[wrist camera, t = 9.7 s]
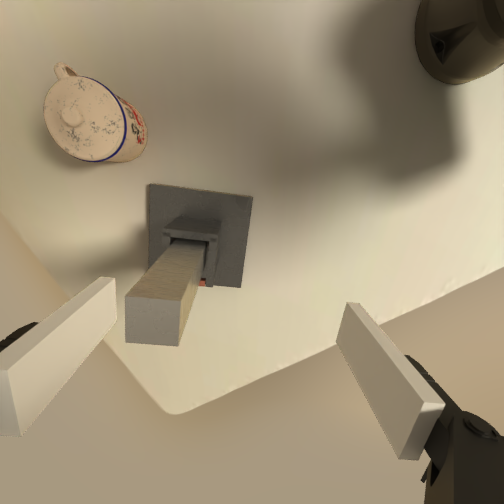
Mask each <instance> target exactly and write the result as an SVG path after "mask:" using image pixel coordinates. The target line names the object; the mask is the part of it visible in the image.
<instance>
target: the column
mask: <svg viewBox="0 0 504 504" xmlns="http://www.w3.org/2000/svg"><path fill="white" fill-rule="evenodd" d="M207 242H208V241H202V240H193V239H185V238H176V240H175V241H174V242H173V243H172V244H171V245H170V246H169V247H168V248H167V250H166V251H165V252H164V253H163V254H162V255H161V256H160V257H159V259H158V260H157V261H156V262H155V263H154V264H153V265H152V266H151V267H150V269H149V270H148V271H147V272H146V273H145V274H144V275H143V276H142V277H141V279H140V280H139V281H138V282H137V283H136V284H135V285H134V286H133V288H132V289H131V290H130V291H129V292H128V293H127V294H126V295H125V340H126V343H139V344H153V345H166V346H179V343H180V340H181V337H182V334H183V331H184V328H185V325H186V322H187V319H188V316H189V313H190V310H191V307H192V304H193V301H194V298H195V295H196V292H197V289H198V286H199V283H200V280H201V277H202V274H203V271H204V268H205V265H206V254H207Z"/></svg>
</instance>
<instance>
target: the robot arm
mask: <svg viewBox="0 0 504 504" xmlns="http://www.w3.org/2000/svg"><path fill="white" fill-rule="evenodd" d="M415 42H416V48H417V52H418V55H419V58H420V60H421V63H422V64H423V66H424V68H425V69H426V70H427V71H428V72H429V74H431V75H432V76H433V77H434V78H436V79H438V80H440V81H442V82H445V83H449V84H461V83H466V82H470V81H472V80H475V79H477V78H480V77H482V76H485V75H487V74H489V73H491V72H493V71H494V70H496V69H497V68H499V67H500V66H502V65H503V64H504V0H422V2H421V4H420V7H419V10H418V14H417V19H416V26H415ZM116 322H117V313H116V288H115V278H111V277H102V276H100V277H99V278H98V279H96V280H95V281H94V282H93V283H91V284H90V285H89V286H87V287H86V288H85V289H83V290H82V291H81V292H79V293H78V294H77V295H75V296H74V297H73V298H71V299H70V300H69V301H68V302H66V303H65V304H63V305H62V306H61V307H60V308H58V309H57V310H56V311H54V312H53V313H52V314H50V315H49V316H48V317H46V318H45V319H44V320H42V321H41V322H40V323H37V322H33V323H30V324H28V325H26V326H24V327H22V328H19V329H17V330H16V331H15V332H13V333H12V334H10V335H9V336H7V337H6V339H5V340H2V341H1V342H0V436H15V437H21V436H22V435H23V434H24V433H25V432H26V430H27V429H28V428H29V427H30V426H31V424H32V423H33V422H34V420H35V419H36V418H37V417H38V416H39V415H40V413H41V412H42V411H43V409H45V407H46V406H47V405H48V404H49V403H50V401H51V400H52V399H53V398H54V397H55V395H56V394H57V393H58V392H59V390H60V389H61V388H62V387H63V386H64V384H65V383H66V382H67V381H68V380H69V378H70V377H71V376H72V375H73V374H74V372H75V371H76V370H77V369H78V367H79V366H80V365H81V364H82V363H83V361H84V360H85V359H86V358H87V356H88V355H89V354H90V353H91V352H92V351H93V349H94V348H95V347H96V346H97V345H98V343H99V342H100V341H101V340H102V339H103V337H104V336H105V335H106V334H107V332H108V331H109V330H110V329H111V328H112V326H113V325H114V324H115V323H116ZM336 343H337V345H338V346H339V348H340V350H341V352H342V354H343V356H344V358H345V359H346V361H347V363H348V365H349V367H350V369H351V371H352V373H353V375H354V376H355V378H356V380H357V382H358V384H359V386H360V387H361V389H362V391H363V393H364V395H365V397H366V399H367V401H368V403H369V405H370V406H371V408H372V410H373V412H374V414H375V416H376V418H377V420H378V422H379V423H380V425H381V427H382V429H383V431H384V433H385V435H386V436H387V438H388V440H389V442H390V444H391V446H392V448H393V449H394V451H395V453H396V455H397V457H398V459H405V460H419V458H420V455H421V454H422V451H423V449H425V450H426V452H427V454H428V455H429V457H430V458H431V461H430V463H429V465H428V467H427V469H426V471H425V473H424V475H423V477H422V479H421V481H422V482H423V483H424V482H425V480H426V479H427V480H426V491H425V500H424V504H504V436H501V435H500V434H499V433H498V432H497V431H496V430H495V428H494V427H492V426H491V425H490V424H489V423H487V422H486V421H485V420H483V419H481V418H480V417H478V416H477V415H474V414H472V413H469V412H467V411H462V410H461V409H460V408H459V407H458V406H457V405H456V403H455V402H454V401H453V400H452V399H451V398H450V397H449V396H448V395H447V394H446V392H445V391H444V390H443V389H442V388H441V387H440V386H439V385H438V384H437V383H435V380H434V379H433V378H432V377H431V376H430V375H428V372H427V371H426V370H425V369H424V368H423V367H422V366H421V365H420V364H419V363H418V362H417V361H415V360H414V359H413V358H411V357H410V356H408V355H403V354H402V352H401V351H400V350H399V349H398V348H397V347H396V345H395V344H394V343H393V342H392V341H391V340H390V338H389V337H388V336H387V335H386V334H385V333H384V331H383V330H382V329H381V328H380V327H379V326H378V324H377V323H376V322H375V321H374V320H373V319H372V317H371V316H370V315H369V314H368V313H367V312H366V310H365V309H364V308H363V307H362V306H361V305H360V303H351V302H347V304H346V307H345V311H344V314H343V318H342V321H341V325H340V329H339V332H338V336H337V339H336Z"/></svg>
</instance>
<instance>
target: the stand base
mask: <svg viewBox="0 0 504 504" xmlns="http://www.w3.org/2000/svg"><path fill="white" fill-rule="evenodd" d="M252 200H253V197H252V196H245V195H237V194H230V193H222V192H215V191H208V190H200V189H193V188H185V187H178V186H170V185H163V184H155V183H151V184H150V218H149V269H150V267H151V266H152V265H153V264H154V263H155V262H156V261H157V260H158V259H159V257H160V256H161V255H162V254H163V253H164V252H165V251H166V250H167V248H168V247H169V246H170V245H171V244H172V243H173V242H174V241H175V240H176V238H185V239H193V240H202V241H208V242H207V254H206V265H205V268H204V271H203V274H202V277H201V280H200V283H199V286H205V284H206V286H205V287H213V285H217V286H227V287H237V288H241V282H242V274H243V267H244V260H245V252H246V245H247V237H248V230H249V223H250V215H251V208H252Z"/></svg>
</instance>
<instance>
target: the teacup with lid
mask: <svg viewBox="0 0 504 504" xmlns="http://www.w3.org/2000/svg"><path fill="white" fill-rule="evenodd" d="M54 71H55V74H56V76H57V78H58V79H59V81H58V82H57V83H55V84H54V85H53V86H52V87H51V88H50V90H49V91H48V93H47V95H46V98H45V102H44V118H45V122H46V125H47V128H48V130H49V132H50V134H51V136H52V137H53V139H54V140H55V142H56V143H57V144H58V145H59V146H60V147H61V148H62V149H63V150H64V151H66V152H67V153H69V154H70V155H72V156H73V157H75V158H77V159H80V160H83V161H88V162H101V161H113V162H127V161H131V160H133V159H135V158H137V157H138V156H139V155H140V154H141V153H142V152H143V150H144V148H145V146H146V142H147V128H146V125H145V122H144V120H143V118H142V116H141V114H140V113H139V112H138V111H137V110H136V108H134V107H133V106H132V105H131V104H129V103H128V102H126V101H125V100H123V99H121V98H120V97H118V96H117V95H115V94H113V93H112V92H111V91H110V90H109V89H108V88H107V87H106V86H104V85H103V84H101V83H100V82H98V81H96V80H94V79H91V78H88V77H83V76H79V75H78V74H77V73H76V72H75V71H74V70H73V69H72V68H70V67H69V66H68V65H66V64H64V63H62V62H60V63H58V64H56V65H55V66H54Z"/></svg>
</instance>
